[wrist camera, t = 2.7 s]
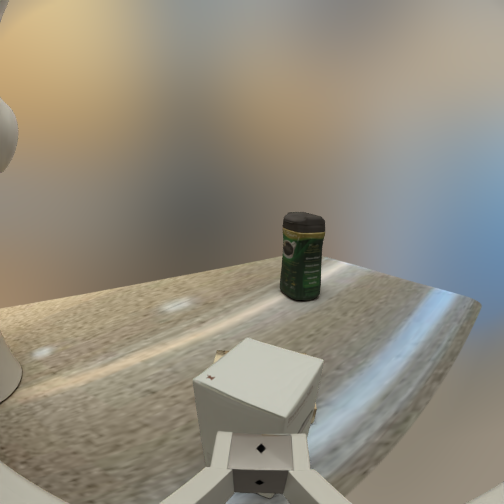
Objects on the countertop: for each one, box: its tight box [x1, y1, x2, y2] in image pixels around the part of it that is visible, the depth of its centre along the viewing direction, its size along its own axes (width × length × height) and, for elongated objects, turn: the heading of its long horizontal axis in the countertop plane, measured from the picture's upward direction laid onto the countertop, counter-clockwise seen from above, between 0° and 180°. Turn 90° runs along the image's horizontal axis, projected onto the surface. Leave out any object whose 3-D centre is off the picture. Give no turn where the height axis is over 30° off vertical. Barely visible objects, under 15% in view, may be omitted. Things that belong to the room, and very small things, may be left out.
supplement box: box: [193, 338, 324, 498], centre depth 21 cm, size 7×7×13 cm
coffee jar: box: [280, 212, 325, 300], centre depth 63 cm, size 10×8×19 cm
